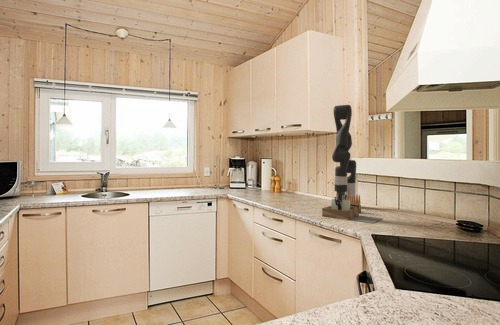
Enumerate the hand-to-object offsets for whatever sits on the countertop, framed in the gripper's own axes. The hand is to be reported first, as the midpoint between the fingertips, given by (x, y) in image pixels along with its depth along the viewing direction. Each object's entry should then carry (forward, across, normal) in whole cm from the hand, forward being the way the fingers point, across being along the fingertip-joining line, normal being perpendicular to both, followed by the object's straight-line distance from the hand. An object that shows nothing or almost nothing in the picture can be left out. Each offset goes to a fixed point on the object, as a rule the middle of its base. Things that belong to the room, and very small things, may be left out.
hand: (340, 211), depth 199 cm
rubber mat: (+3, 0, +16) cm, 16 cm away
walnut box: (+3, 0, 0) cm, 3 cm away
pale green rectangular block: (+3, 0, 0) cm, 3 cm away
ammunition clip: (+3, -18, +1) cm, 18 cm away
